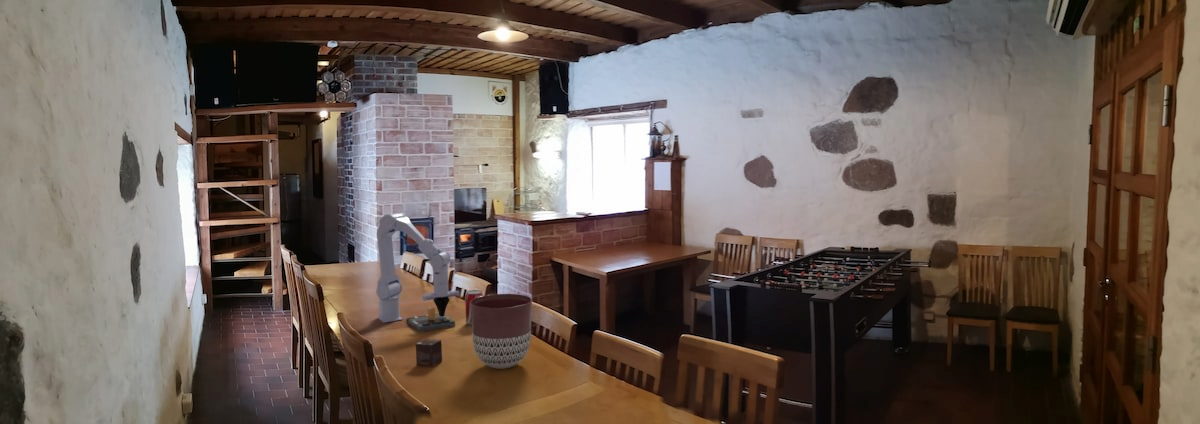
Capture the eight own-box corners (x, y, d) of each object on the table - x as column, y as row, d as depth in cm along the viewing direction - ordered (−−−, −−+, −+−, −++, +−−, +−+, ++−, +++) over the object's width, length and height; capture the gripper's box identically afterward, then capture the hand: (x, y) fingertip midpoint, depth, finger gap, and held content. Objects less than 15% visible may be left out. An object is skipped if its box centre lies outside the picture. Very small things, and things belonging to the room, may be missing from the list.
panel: (408, 323, 253) (408, 317, 252) (442, 318, 260) (442, 312, 260) (420, 332, 241) (419, 325, 241) (455, 326, 249) (454, 319, 249)
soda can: (486, 321, 256) (485, 289, 255) (481, 326, 249) (480, 293, 247) (469, 321, 256) (468, 289, 255) (463, 325, 249) (462, 293, 248)
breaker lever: (427, 318, 251) (427, 307, 251) (432, 317, 252) (432, 307, 252) (430, 320, 249) (429, 309, 248) (435, 319, 250) (434, 308, 249)
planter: (515, 380, 190) (513, 310, 188) (459, 372, 197) (457, 305, 195) (543, 360, 208) (542, 296, 206) (491, 353, 215) (489, 291, 213)
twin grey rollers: (405, 321, 256) (405, 317, 256) (436, 316, 263) (436, 313, 263) (408, 323, 253) (408, 319, 253) (439, 318, 260) (439, 314, 260)
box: (442, 361, 207) (442, 339, 207) (432, 367, 202) (431, 345, 201) (426, 359, 209) (426, 338, 209) (416, 365, 204) (415, 343, 203)
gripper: (426, 286, 244) (427, 320, 246) (461, 281, 252) (462, 315, 254) (420, 283, 250) (421, 316, 251) (455, 279, 258) (456, 311, 259)
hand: (441, 315), depth 253 cm, fingers closed
